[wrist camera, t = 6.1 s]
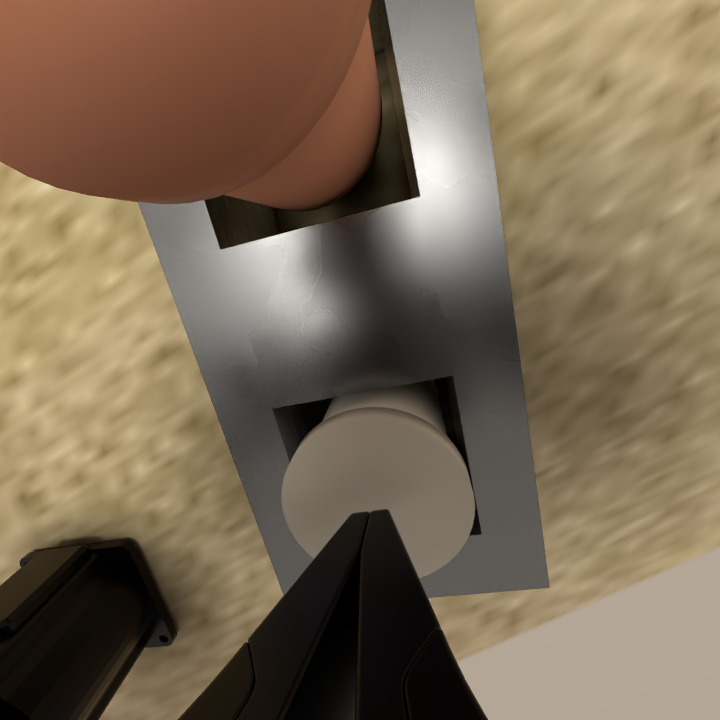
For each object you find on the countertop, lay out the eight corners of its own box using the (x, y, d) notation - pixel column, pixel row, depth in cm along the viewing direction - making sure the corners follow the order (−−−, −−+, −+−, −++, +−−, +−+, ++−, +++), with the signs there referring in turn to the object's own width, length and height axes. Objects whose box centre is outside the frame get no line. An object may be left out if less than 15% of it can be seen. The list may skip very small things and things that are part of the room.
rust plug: (414, 196, 9) (432, 112, 3) (236, 244, 10) (-23, 250, 4) (370, -40, 8) (257, -958, 2) (171, 36, 9) (-359, -428, 3)
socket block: (505, 482, 16) (549, 587, 11) (321, 507, 17) (289, 609, 12) (346, -548, 8) (273, -1542, 4) (49, -363, 10) (-278, -917, 5)
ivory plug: (455, 443, 15) (488, 574, 9) (345, 460, 16) (310, 591, 10) (434, 334, 14) (457, 403, 8) (316, 358, 15) (256, 438, 9)
